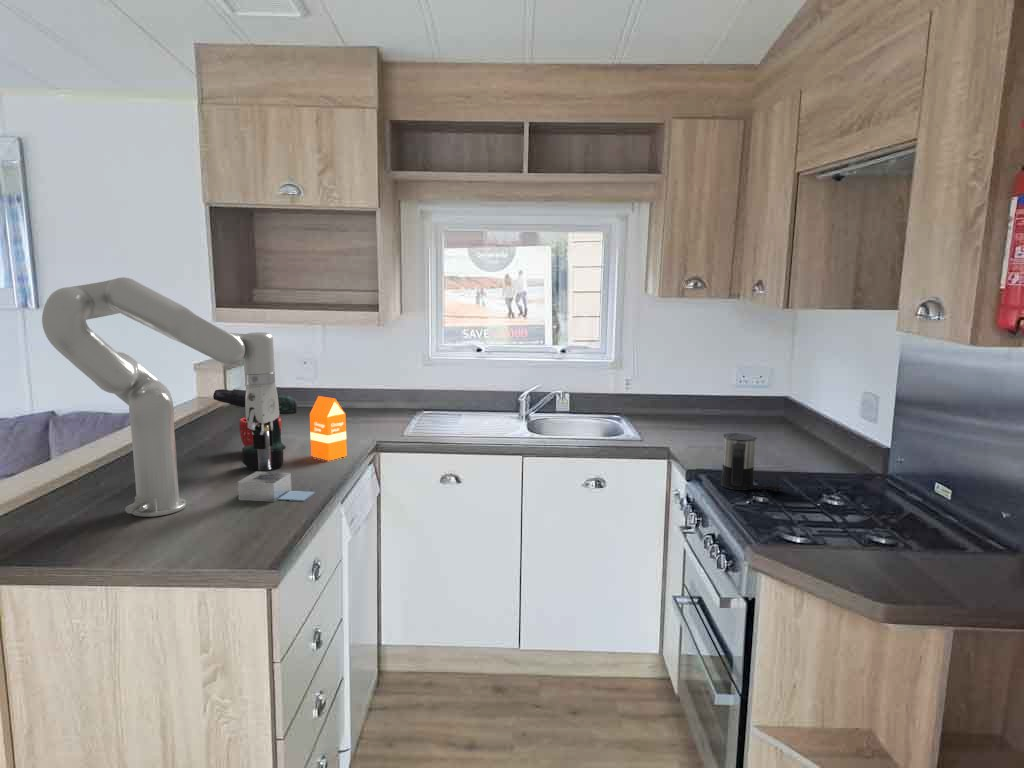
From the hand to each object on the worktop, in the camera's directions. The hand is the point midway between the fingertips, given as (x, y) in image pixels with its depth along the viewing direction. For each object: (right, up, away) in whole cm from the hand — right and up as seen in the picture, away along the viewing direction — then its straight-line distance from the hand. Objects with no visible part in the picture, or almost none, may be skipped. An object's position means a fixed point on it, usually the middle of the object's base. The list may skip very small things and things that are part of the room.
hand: (263, 446), depth 184 cm
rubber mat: (+9, -14, +1) cm, 16 cm away
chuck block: (0, -13, +2) cm, 14 cm away
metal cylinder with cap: (0, -6, +1) cm, 6 cm away
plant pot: (-17, -7, +46) cm, 50 cm away
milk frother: (+135, -13, +11) cm, 136 cm away
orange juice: (+6, -8, +42) cm, 43 cm away
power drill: (-12, -9, +28) cm, 32 cm away
